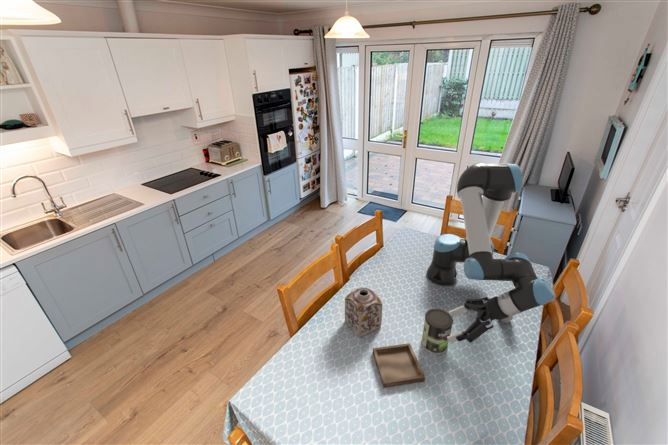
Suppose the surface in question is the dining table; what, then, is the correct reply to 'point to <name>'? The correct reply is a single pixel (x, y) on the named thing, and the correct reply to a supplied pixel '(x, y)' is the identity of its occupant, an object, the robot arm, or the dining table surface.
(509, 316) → the salt shaker
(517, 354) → the dining table surface
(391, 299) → the dining table surface
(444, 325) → the coffee can
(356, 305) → the decorative jar
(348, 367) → the dining table surface
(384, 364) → the holder tray
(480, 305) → the robot arm
